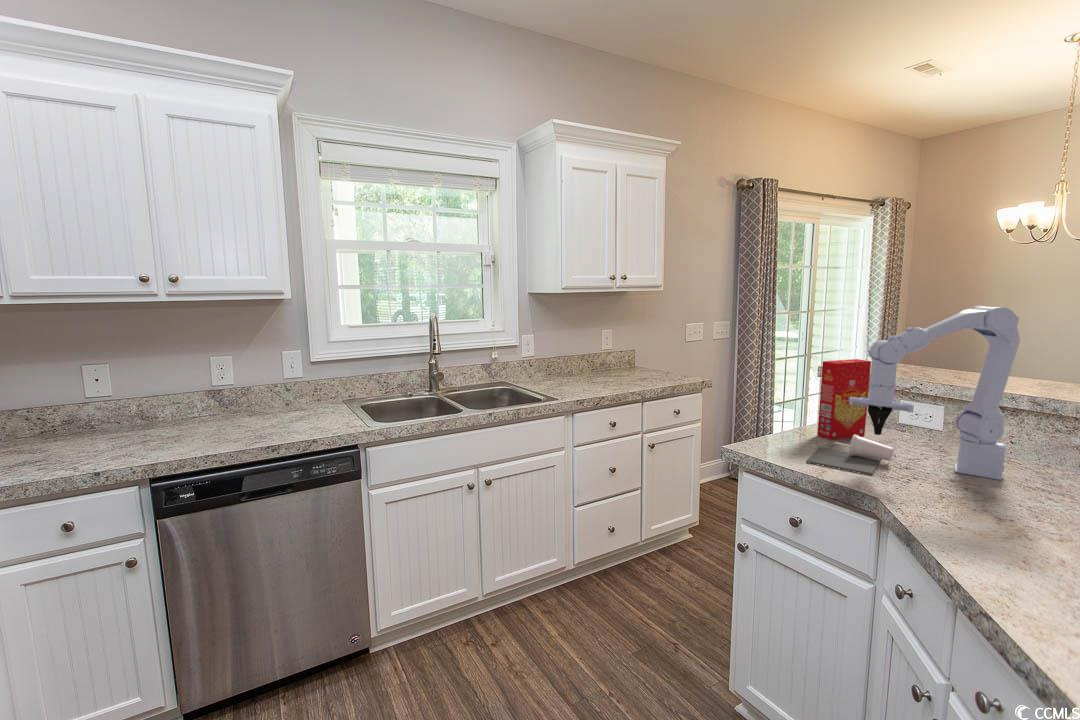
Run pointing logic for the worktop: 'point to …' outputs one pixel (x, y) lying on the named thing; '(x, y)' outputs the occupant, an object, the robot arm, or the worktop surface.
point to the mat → (843, 460)
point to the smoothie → (868, 448)
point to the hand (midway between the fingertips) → (877, 433)
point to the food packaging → (843, 398)
